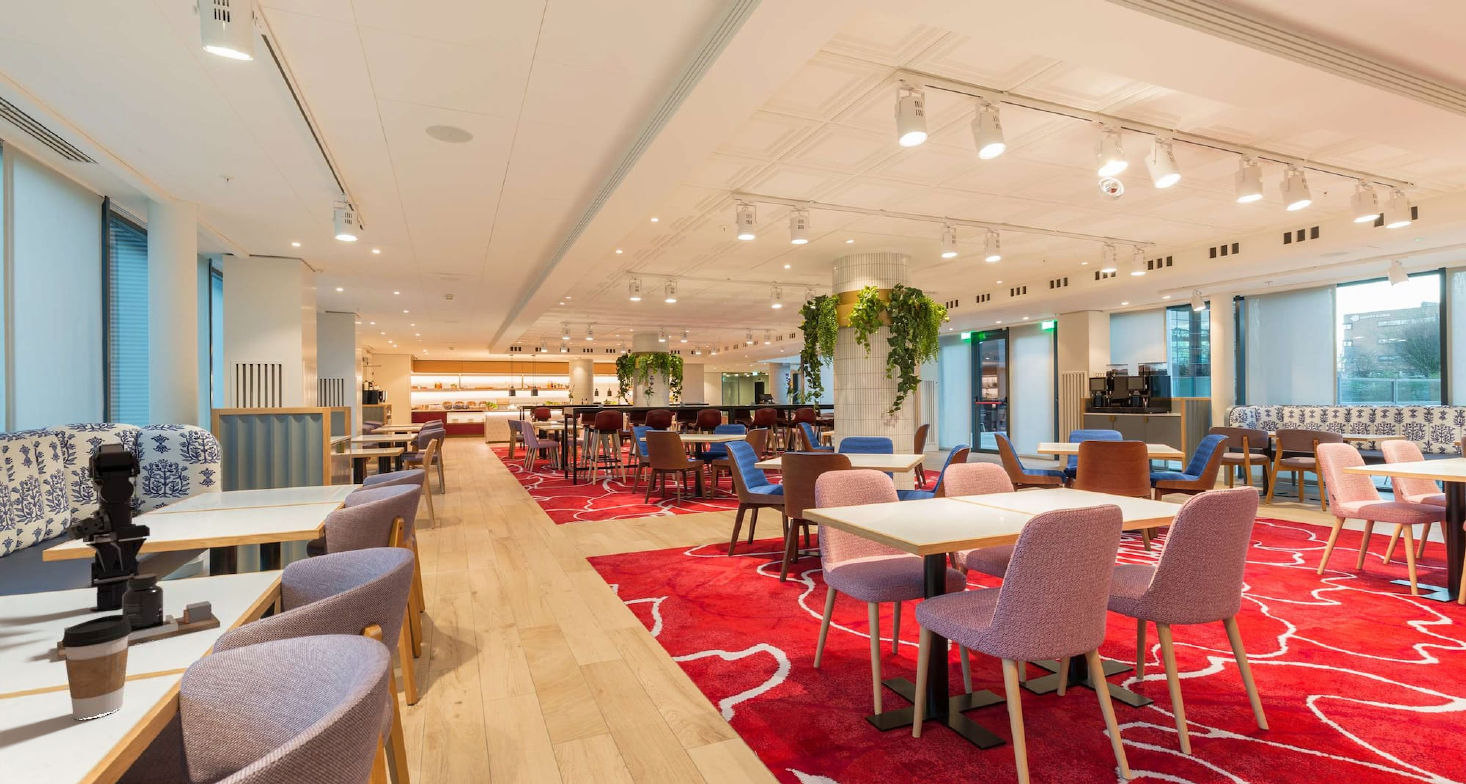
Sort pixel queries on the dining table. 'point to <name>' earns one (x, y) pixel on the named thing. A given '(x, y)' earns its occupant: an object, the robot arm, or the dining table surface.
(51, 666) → the dining table surface
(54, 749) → the dining table surface
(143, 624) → the supplement bottle
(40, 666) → the dining table surface
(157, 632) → the walnut rail
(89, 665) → the coffee cup
